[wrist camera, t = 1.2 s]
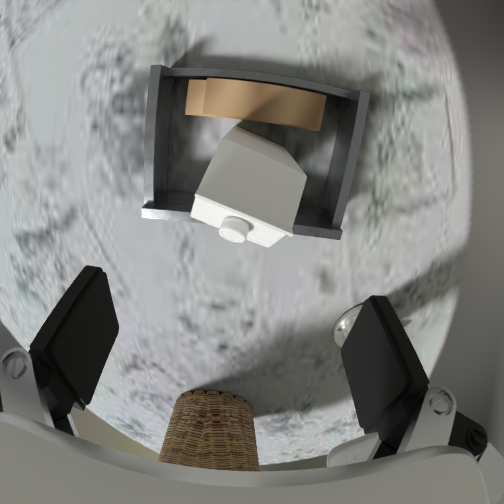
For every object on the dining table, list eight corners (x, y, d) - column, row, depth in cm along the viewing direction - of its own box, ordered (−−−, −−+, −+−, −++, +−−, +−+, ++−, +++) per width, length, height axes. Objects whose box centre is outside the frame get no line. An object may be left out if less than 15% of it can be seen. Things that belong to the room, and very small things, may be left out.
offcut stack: (321, 97, 30) (332, 96, 25) (315, 130, 32) (325, 134, 27) (195, 80, 29) (185, 76, 24) (191, 113, 31) (181, 115, 26)
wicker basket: (132, 397, 66) (108, 494, 37) (202, 355, 54) (182, 508, 25) (221, 436, 79) (216, 518, 50) (302, 407, 66) (313, 514, 37)
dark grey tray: (352, 94, 29) (373, 93, 23) (326, 217, 38) (339, 240, 32) (167, 71, 28) (147, 64, 22) (159, 198, 37) (141, 217, 30)
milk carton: (235, 125, 32) (215, 144, 15) (285, 147, 33) (319, 191, 17) (213, 173, 35) (178, 240, 19) (262, 194, 36) (270, 275, 20)
